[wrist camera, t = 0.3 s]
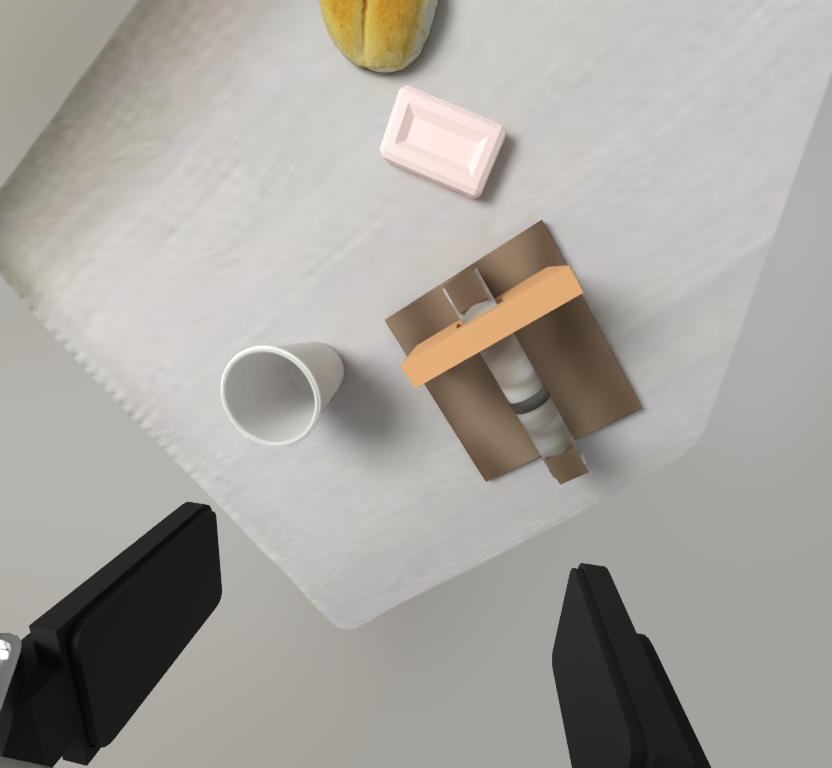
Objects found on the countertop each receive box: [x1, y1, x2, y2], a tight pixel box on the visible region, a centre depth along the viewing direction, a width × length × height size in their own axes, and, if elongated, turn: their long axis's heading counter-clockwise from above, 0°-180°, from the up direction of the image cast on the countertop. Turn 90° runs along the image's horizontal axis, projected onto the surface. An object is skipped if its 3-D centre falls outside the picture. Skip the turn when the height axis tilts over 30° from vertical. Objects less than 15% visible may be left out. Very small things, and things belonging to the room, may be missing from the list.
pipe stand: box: [385, 220, 642, 484], centre depth 34 cm, size 16×19×8 cm
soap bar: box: [380, 85, 506, 199], centre depth 33 cm, size 5×9×2 cm, turn 68°
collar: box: [400, 265, 584, 388], centre depth 31 cm, size 13×2×8 cm, turn 122°
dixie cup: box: [221, 342, 344, 447], centre depth 36 cm, size 8×8×10 cm
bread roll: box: [319, 0, 438, 73], centre depth 30 cm, size 8×9×4 cm
